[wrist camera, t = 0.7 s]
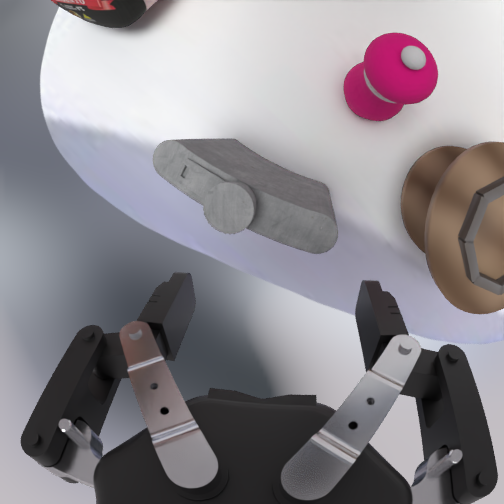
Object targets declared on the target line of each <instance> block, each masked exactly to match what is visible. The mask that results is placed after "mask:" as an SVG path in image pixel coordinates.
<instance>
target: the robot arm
mask: <svg viewBox="0 0 504 504" xmlns="http://www.w3.org/2000/svg"><path fill="white" fill-rule="evenodd" d="M195 302H196V300H195V294H194V288H193V282H192V276H191V274H190V273H180V272H175V273H174V274H173V275H172V277H171V279H170V280H169V282H163V283H162V284H161V285H159V286H158V287H157V288H156V289H155V291H154V293H153V294H152V296H151V297H150V299H149V302H148V303H147V304H146V306H145V307H144V309H143V311H142V313H141V314H140V316H139V318H138V319H137V321H134V322H130V323H128V324H127V325H125V326H124V327H123V328H122V329H121V331H120V332H119V333H108V334H104V333H103V331H102V329H101V328H100V327H99V326H95V325H90V326H86V327H84V328H82V329H81V330H80V331H79V332H78V333H77V335H76V336H75V338H74V340H73V341H72V343H71V344H70V346H69V348H68V349H67V351H66V353H65V354H64V356H63V358H62V359H61V361H60V363H59V364H58V367H57V368H56V370H55V372H54V373H53V375H52V377H51V379H50V381H49V382H48V384H47V386H46V388H45V389H44V391H43V393H42V395H41V397H40V399H39V401H38V403H37V405H36V407H35V409H34V411H33V413H32V415H31V417H30V419H29V421H28V423H27V425H26V427H25V429H24V431H23V434H22V436H21V446H22V449H23V450H24V452H25V453H26V454H27V455H29V456H30V457H32V458H33V459H34V460H35V461H37V462H38V464H40V465H41V466H42V467H44V468H46V469H47V470H49V471H50V472H51V473H53V474H55V475H56V476H59V477H61V478H62V479H64V480H66V481H67V482H69V483H78V482H80V483H82V484H85V485H87V486H90V487H92V488H95V493H96V504H471V503H473V502H475V501H477V500H479V499H481V498H483V497H485V496H487V495H488V494H490V493H491V492H492V490H493V489H494V488H495V486H496V483H497V478H498V473H497V467H496V461H495V456H494V451H493V446H492V441H491V437H490V432H489V428H488V425H487V420H486V416H485V413H484V409H483V406H482V402H481V399H480V396H479V392H478V389H477V386H476V383H475V380H474V377H473V374H472V371H471V369H470V366H469V363H468V360H467V358H466V355H465V353H464V352H463V351H462V350H461V349H460V348H459V347H457V346H455V345H451V344H448V345H444V346H442V347H441V348H440V350H439V352H435V351H430V350H426V349H422V348H421V346H420V344H419V342H418V341H417V340H416V339H415V338H413V337H411V336H409V334H408V331H407V329H406V326H405V323H404V321H403V318H402V315H401V314H400V310H399V308H398V305H397V302H396V300H395V298H394V297H393V296H392V295H391V294H390V293H389V292H388V291H382V289H381V286H380V283H379V281H366V280H363V281H362V283H361V287H360V291H359V296H358V300H357V305H356V312H355V316H356V322H357V327H358V332H359V336H360V342H361V347H362V352H363V357H364V363H365V368H366V374H365V375H364V377H363V378H362V379H361V380H360V382H359V383H358V385H357V386H356V387H355V388H354V390H353V391H352V392H351V394H350V395H349V396H348V397H347V399H346V400H345V401H344V403H343V404H342V405H341V406H340V407H339V409H338V410H337V411H336V410H334V409H332V408H331V407H328V406H326V405H323V404H321V403H316V395H285V396H279V397H273V398H266V399H260V398H256V397H253V396H250V395H247V394H244V393H240V392H237V391H232V390H223V389H215V388H210V390H209V393H208V395H204V396H199V397H195V398H193V399H190V400H188V401H184V399H183V397H182V395H181V393H180V391H179V389H178V387H177V385H176V383H175V381H174V379H173V377H172V375H171V373H170V371H169V369H168V366H167V364H166V362H165V361H166V360H171V361H174V360H175V358H176V355H177V353H178V350H179V348H180V345H181V342H182V340H183V338H184V335H185V333H186V330H187V328H188V325H189V323H190V320H191V318H192V315H193V313H194V310H195V304H196V303H195ZM122 378H130V380H131V383H132V386H133V389H134V392H135V395H136V398H137V401H138V404H139V406H140V409H141V412H142V415H143V417H144V420H145V422H146V425H147V428H145V429H144V430H142V431H141V432H139V433H138V434H136V435H135V436H133V437H132V438H130V439H129V440H127V441H126V442H124V443H122V444H121V445H119V446H118V447H116V448H114V449H113V450H111V451H109V452H108V453H107V454H105V455H104V456H103V455H102V451H103V443H102V441H101V439H100V438H99V434H100V432H101V429H102V426H103V423H104V421H105V418H106V415H107V413H108V411H109V408H110V406H111V403H112V401H113V398H114V396H115V393H116V391H117V388H118V386H119V383H120V381H121V379H122ZM399 394H402V395H407V396H411V397H415V398H416V404H417V410H418V416H419V422H420V429H421V437H422V445H423V453H424V461H423V462H422V463H421V464H420V465H419V466H418V467H417V469H416V471H415V477H414V482H413V484H412V486H411V487H410V485H409V484H408V482H407V481H406V479H405V478H404V477H403V476H402V475H401V474H400V473H399V472H398V471H396V470H395V469H394V468H393V467H392V466H391V465H390V464H389V463H388V462H387V461H386V460H385V459H384V458H383V457H382V456H381V455H380V454H379V453H378V452H377V451H376V450H375V449H374V448H373V447H372V446H371V445H370V444H369V443H368V442H369V441H370V439H371V438H372V437H373V435H374V434H375V432H376V431H377V429H378V428H379V426H380V425H381V423H382V421H383V420H384V418H385V417H386V415H387V414H388V412H389V410H390V409H391V407H392V405H393V404H394V402H395V400H396V399H397V397H398V395H399ZM102 456H103V457H102Z"/></svg>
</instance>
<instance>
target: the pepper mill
mask: <svg viewBox="0 0 504 504" xmlns="http://www.w3.org/2000/svg"><path fill="white" fill-rule="evenodd" d="M437 79H438V70H437V65H436V62H435V60H434V58H433V56H432V54H431V53H430V51H429V50H428V48H427V47H426V46H425V45H424V44H422V43H421V42H420V41H419V40H417V39H416V38H414V37H412V36H409V35H406V34H402V33H388V34H384V35H381V36H379V37H377V38H376V39H375V40H373V41H372V42H371V43H370V45H369V46H368V48H367V50H366V52H365V56H364V62H362V63H359V64H357V65H356V66H354V67H353V68H352V69H351V70H350V71H349V72H348V74H347V76H346V78H345V81H344V94H345V99H346V102H347V104H348V106H349V108H350V109H351V110H352V111H353V112H354V113H355V114H357V115H358V116H360V117H362V118H365V119H369V120H373V121H383V120H387V119H390V118H392V117H393V116H395V115H396V114H397V113H398V112H399V111H400V110H401V109H402V107H403V105H404V104H414V103H418V102H421V101H423V100H424V99H426V98H427V97H428V96H430V95H431V93H432V92H433V90H434V89H435V87H436V84H437Z"/></svg>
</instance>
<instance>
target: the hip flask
mask: <svg viewBox="0 0 504 504" xmlns="http://www.w3.org/2000/svg"><path fill="white" fill-rule="evenodd" d="M153 165H154V168H155V170H156V172H157V173H158V174H159V175H160V176H161V177H162V178H164V179H165V180H166V181H168V182H169V183H170V184H172V185H173V186H174V187H176V188H177V189H178V190H180V191H181V192H183V193H184V194H186V195H187V196H189V197H190V198H192V199H193V200H195V201H197V202H198V203H200V204H201V205H203V210H204V215H205V217H206V219H207V221H208V223H209V224H210V225H211V226H212V227H213V228H215V230H218V231H219V232H223V233H225V234H227V233H228V234H232V233H233V234H235V233H238V232H240V231H242V230H244V229H245V228H247V229H249V230H251V231H253V232H255V233H257V234H260V235H262V236H265V237H267V238H269V239H272V240H274V241H277V242H280V243H282V244H285V245H288V246H291V247H294V248H297V249H300V250H303V251H306V252H309V253H314V254H320V253H324V252H327V251H328V250H330V249H331V248H332V247H333V246H334V245H335V243H336V241H337V238H338V229H337V225H336V220H335V215H334V211H333V206H332V202H331V198H330V193H329V190H328V188H327V186H326V185H325V184H323V183H321V182H318V181H315V180H312V179H309V178H306V177H303V176H301V175H298V174H296V173H293V172H291V171H289V170H287V169H284V168H282V167H280V166H278V165H276V164H274V163H272V162H270V161H269V160H267V159H265V158H263V157H261V156H260V155H258V154H256V153H255V152H253V151H251V150H250V149H248V148H247V147H246V146H244V145H243V144H241V143H240V142H239V141H237V140H235V139H181V140H167V141H164V142H162V143H160V144H159V145H158V146H157V148H156V149H155V151H154V154H153Z"/></svg>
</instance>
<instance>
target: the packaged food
mask: <svg viewBox="0 0 504 504" xmlns="http://www.w3.org/2000/svg"><path fill="white" fill-rule="evenodd" d="M51 1H53V2H54V3H55V4H57V5H58V6H60V7H61V8H63V9H64V10H66V11H68V12H70V13H71V14H73V15H75V16H77V17H79V18H81V19H83V20H85V21H88V22H90V23H93V24H97V25H101V26H105V27H110V28H121V27H126V26H129V25H131V24H132V23H134V22H135V21H136V20H138V19H139V18H140V17H141V16H142V15H143V14H144V13H145V12H146V11H147V10H148V9H149V8H150V7H151V6H152V5H153V4H154V3H155V2H156V1H157V0H51Z"/></svg>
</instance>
